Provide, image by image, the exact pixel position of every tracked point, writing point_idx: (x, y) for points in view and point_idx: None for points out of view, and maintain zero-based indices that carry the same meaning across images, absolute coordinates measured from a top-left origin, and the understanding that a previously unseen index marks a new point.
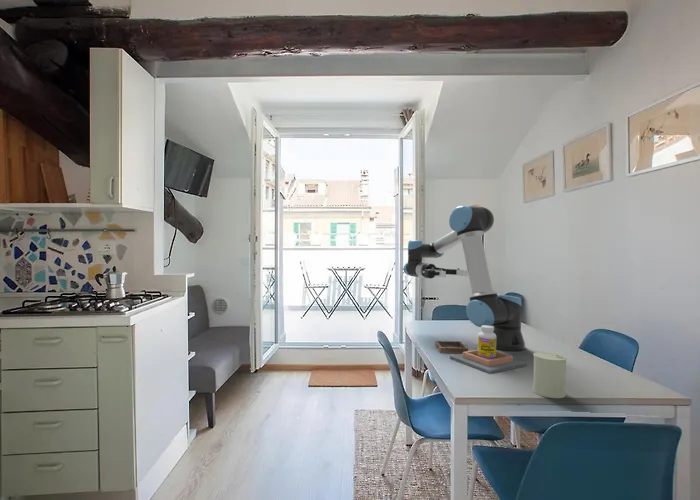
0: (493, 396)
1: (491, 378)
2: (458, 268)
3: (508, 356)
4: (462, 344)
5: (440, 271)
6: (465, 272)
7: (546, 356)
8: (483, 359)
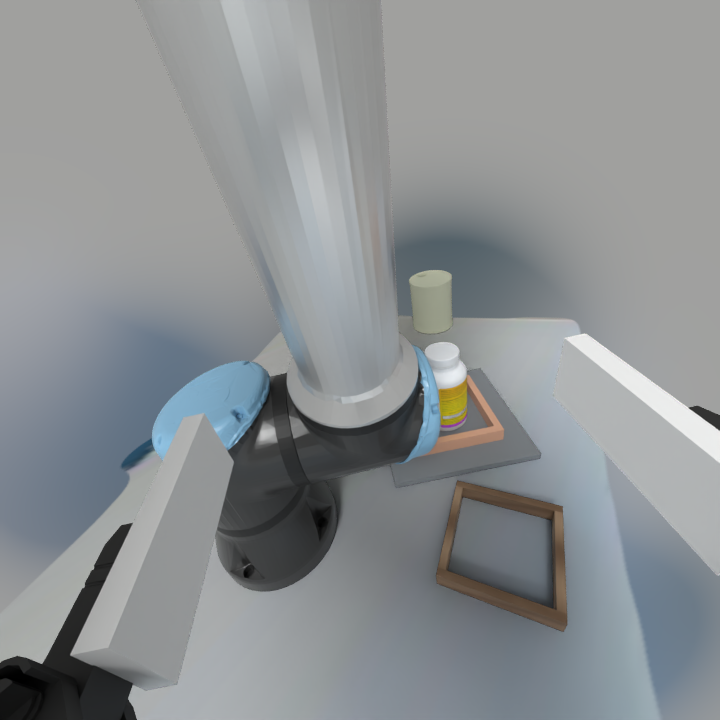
0: (519, 319)
1: (488, 357)
2: (16, 657)
3: None
4: (453, 528)
5: (647, 387)
6: (212, 442)
7: (436, 277)
8: (474, 384)
